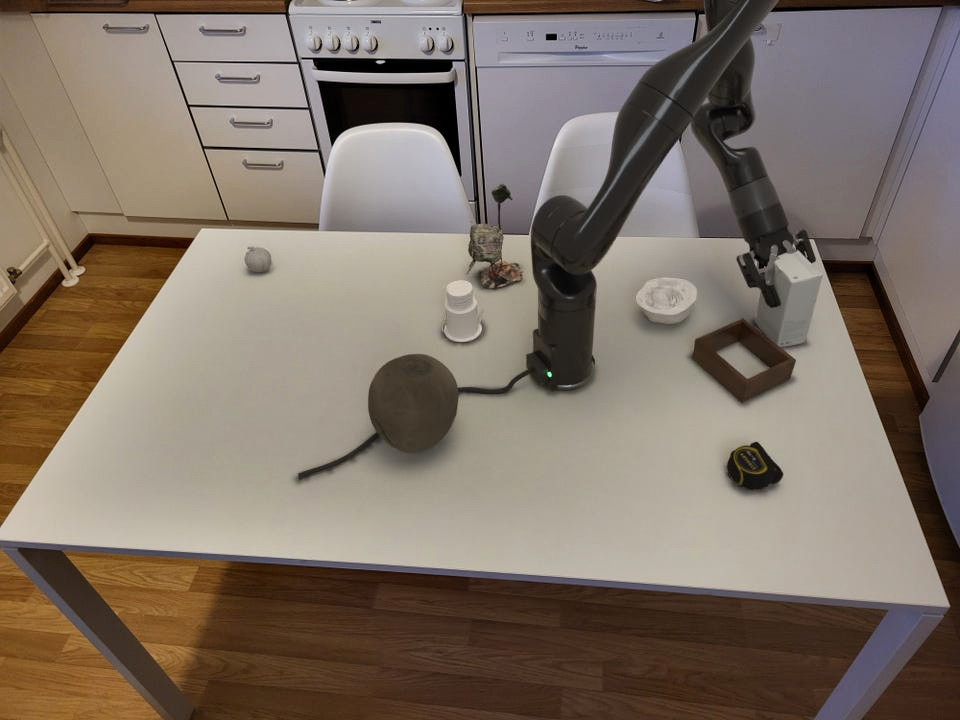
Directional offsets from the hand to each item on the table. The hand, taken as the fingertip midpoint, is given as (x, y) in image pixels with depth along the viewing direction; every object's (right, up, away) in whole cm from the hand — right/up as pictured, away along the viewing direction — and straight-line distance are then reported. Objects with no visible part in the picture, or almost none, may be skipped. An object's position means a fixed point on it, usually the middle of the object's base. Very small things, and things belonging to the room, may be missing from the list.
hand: (792, 299), depth 132 cm
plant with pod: (-51, +6, +23) cm, 56 cm away
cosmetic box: (0, -6, +6) cm, 8 cm away
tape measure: (-13, -28, -16) cm, 34 cm away
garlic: (-99, +9, +29) cm, 104 cm away
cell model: (-19, -2, +12) cm, 23 cm away
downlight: (-57, -5, +11) cm, 58 cm away
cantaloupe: (-63, -23, -7) cm, 68 cm away
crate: (-9, -12, 0) cm, 15 cm away
